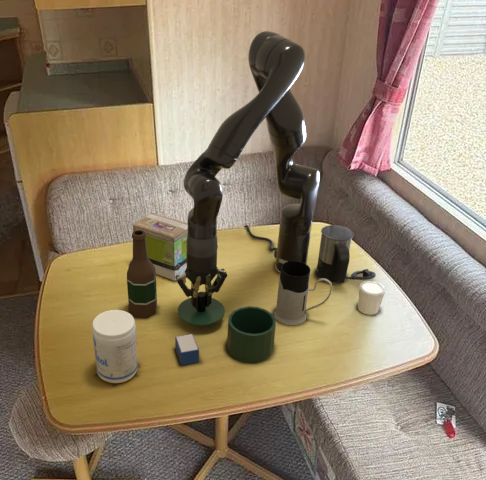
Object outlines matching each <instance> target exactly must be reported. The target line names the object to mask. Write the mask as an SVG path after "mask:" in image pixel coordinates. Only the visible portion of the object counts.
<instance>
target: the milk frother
mask: <svg viewBox="0 0 486 480" xmlns="http://www.w3.org/2000/svg"><path fill="white" fill-rule="evenodd" d="M320 233H321V237H320V244H319V251H318V259H317V266H316V269H315V273H314V274H315V276H316V278H317V279H318V280H319V279H321V278H324V279H327V280H329V281H330V282H331V284H344V283H345V282H346V280H353V281H355V280H356V281H369V280H371V279H374V278H376V274H377V273H376V272H374V271H372V270H369V269H368V268H364V269H362V270H357V271H354V272H352V273H351V275H350V276H347V275H348V274H347V273H348V270H349V266H350V265H349V264H350V252H351V251H350V250H351V244H352V239H353V237H354V231H353V230H351V229H350V228H349V227H346V226H343V225H339V224H330V225H325V226H323V227H322V228H321V229H320ZM361 274H362V276H358V275H361ZM321 281H322V282H325V283H327V282H326V281H324V280H321Z"/></svg>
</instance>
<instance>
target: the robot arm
mask: <svg viewBox="0 0 486 480" xmlns="http://www.w3.org/2000/svg"><path fill="white" fill-rule="evenodd" d="M247 56H248V66H249V69H250V71H251V76H252V78H253V81H254V83H255V85H256V89H257V91H258V93H257V94H256V95H255V96H254V97H253V98H252V99H251V100H250V101H249V102H247V103H246V104H245V105H243V106H241V107H240V108H239V109H237V110H236V111H234V112H233V113H231V114H230V115H229V116H228V117H227V118H226V119H225V120H224V121H223V122H222V123H221V125H219V128H218V129H217V131H216V132H215V134H214V136H213V137H212V139H211V141H210V143H209V144H208V146H207V148H206V149H205V150H204V151H202V152H201V154H200V155H199V156H198V157H197V158H196V159H195V161H194V162H193V163H192V164H191V165H190V166H189V168H188V169H187V171H186V172H185V175H184V178H183V189H184V190H185V192H186V193H187V194H188V195H189V196H190V197H191V199H192V200H193V208H191V209H190V210H189V211H188V214H187V223H188V233H187V268H186V270H185V273H184V274H182V275H181V276H180V275H177V276H176V277H175V278H176V280H175V281H176V283H177V284H178V286H179V287H180V290H182V292H183V293H184V296H185V297H186V298H191V303H192V305H193V307H195V309H197V308H198V296H197V295H198V292H199V291H200V287H201V286H204V292H205V293H206V307H209V304H211V302H212V298H213V296H212V295H213V294H215V293H218V292H220V290H221V288H222V287H223V285H224V283H225V281H226V279H227V278H228V273H227V272H226V270H225V268H221V269H220V268H218V248H219V245H218V235H217V234H218V216H219V213H220V209H221V206H222V202H223V195H224V193H223V187H222V184H221V182H220V180H219V179H218V178H217V177H216V176H217V175H218V174H219V172H220V171H221V170H222V169H224V170H229V169H231V168H232V167H234V165H235V164H236V162H237V160H238V159H239V157H240V155H241V153H242V152H243V150H244V149H245V147H246V145H247V144H248V142H249V141H250V139H251V137H252V136H253V134H254V133H255V131H256V130H257V129H258V128H259V126H260V125H261V124H262V122H263V121H264V120H265V123H266V128H267V133H268V137H269V141H270V144H271V149H272V153H273V159H274V166H275V176H276V185H277V189H278V191H279V193H280V194H281V195H283V196H285V197H288V198H292V199H296V200H299V201H300V202H296V203H289V204H287V205H284V206H283V207H282V208H281V209H280V216H279V227H278V236H277V246H275V247H273V246H274V242H273V240H272V239H270V238H268V237H263V236H257V235H255V234H253V233H252V232H251V229H250V226H249V225H248V224H246V225H245V224H244V226H243V228H245V229H246V230H247V233H248V235H249V236H250V237H252V238H253V239H256V240H260V241H261V240H262V241H267V242H268V243H269V244H270V245H269V248H268V249H269V251H270V252H273V251H274V252H273V257H274V258H275V264H274V269H275V272H277V274H278V275H280V272H281V266H282V264H284V263H285V262H289V261H299V262H302V263H305V264H306V265H308V258H309V249H310V242H311V235H312V227H313V226H312V225H313V219H314V214H315V210H316V202H317V198H318V193H319V188H320V181H321V174H320V171H319V169H318V168H315V167H311V166H306V165H304V164H303V165H302V164H298V163H295V162H294V160H293V157H294V156H295V155H296V154H297V153H298V152H299V151H300V149H301V148H302V147H303V146H304V144H305V142H306V139H307V125H306V120H305V114H304V111H303V109H302V107H301V105H300V102H299V101H298V99H297V98H296V97H295V95H294V93H293V92H292V90H291V88H292V86H293V85H294V83H296V81H297V80H298V78H299V77H300V74H301V73H302V71H303V69H304V66H305V62H306V52H305V49H304V47H303V46H302V45H301V44H299V43H298V42H295V41H293V40H292V39H289V38H288V37H285V36H283V35H281V34H280V33H277V32H275V31H270V30H264V31H260V32H258V33H257V34H256V35H255V36H254V37H253V39H252V41H251V43H250V45H249V50H248V55H247ZM214 278H215V279H214ZM187 279H188V281H190V288H189V287H188V286H187V284H186V283H187ZM212 281H213V283H212Z"/></svg>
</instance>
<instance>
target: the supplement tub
mask: <svg viewBox="0 0 486 480" xmlns="http://www.w3.org/2000/svg"><path fill="white" fill-rule="evenodd" d="M91 330H92V341H93V348H94V350H93V351H94V358H95V359H94V360H95V367H96V374H97V375H98V377H99V378H100V379H101V380H102V381H104V382H106V383H110V384H120V383H125V382H127V381H129V380H131V379H132V378H133V377H134V376H135V375H137V372H138V368H139V367H138V365H139V364H138V347H137V327H136V321H135V318H134V315H133V314H131V313H130V312H128V311H126V310H121V309H110V310H106V311H102V312H100V313H98V314H97V316H95V317H94V319H93V321H92V329H91Z"/></svg>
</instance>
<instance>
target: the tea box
mask: <svg viewBox="0 0 486 480" xmlns="http://www.w3.org/2000/svg"><path fill="white" fill-rule="evenodd" d="M136 230H143V231H144V232H145V233H146V238H145V239H146V247H147V255H148V258H149V260H150V261H151V262H152V263H153V265H154V267H155V272H156V275H158V276H161V277H163V278H166V279H169V280H172V281H177V280H176V278H175V277H176V276H177V275H180V276H181V275H182V274H184V273H185V270H186V268H187V233H188V222H184V221H181V220H177V219H174V218H171V217H168V216H164V215H161V214H158V213H155V212H152V213H150V214H148V215H147V216H145V217H143V218H141V219H139V220H138V221H136V222H135V223H133V224H132V233H133V232H134V231H136Z"/></svg>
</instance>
